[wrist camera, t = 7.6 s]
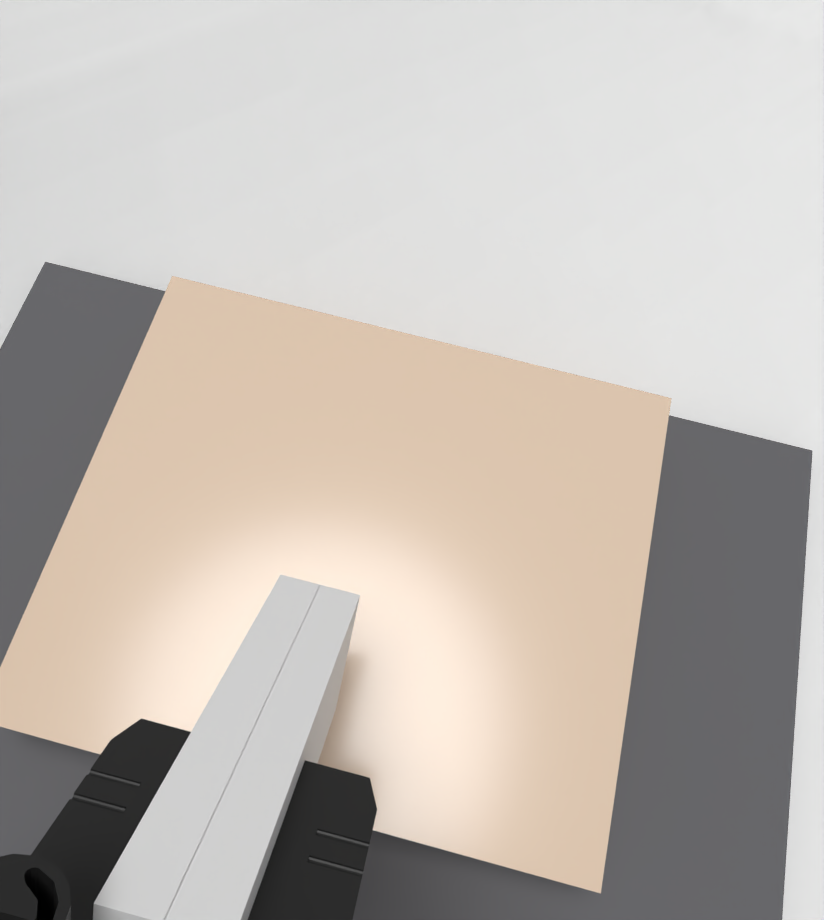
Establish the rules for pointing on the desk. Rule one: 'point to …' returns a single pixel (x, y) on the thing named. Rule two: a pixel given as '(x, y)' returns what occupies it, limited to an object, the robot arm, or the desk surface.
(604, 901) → the mat
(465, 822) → the tile
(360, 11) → the desk surface
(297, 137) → the desk surface
